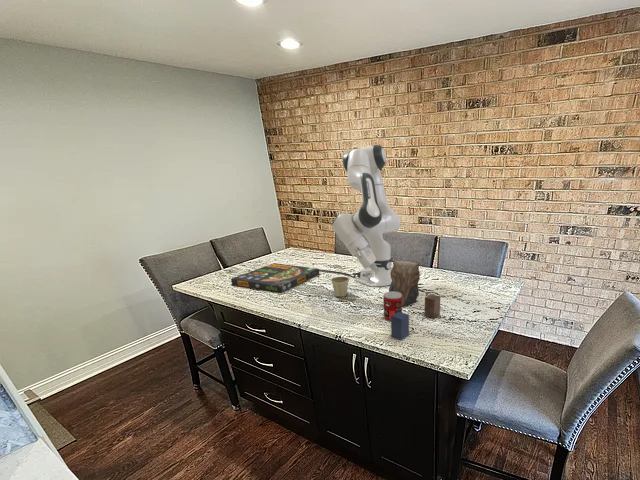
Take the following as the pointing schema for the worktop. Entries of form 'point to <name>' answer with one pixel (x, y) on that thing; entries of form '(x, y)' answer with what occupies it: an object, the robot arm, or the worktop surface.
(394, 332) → the blue block
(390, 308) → the canned food
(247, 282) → the pizza box
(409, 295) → the owl
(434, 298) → the walnut block
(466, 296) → the worktop surface
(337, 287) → the flower pot
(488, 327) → the worktop surface
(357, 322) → the worktop surface
